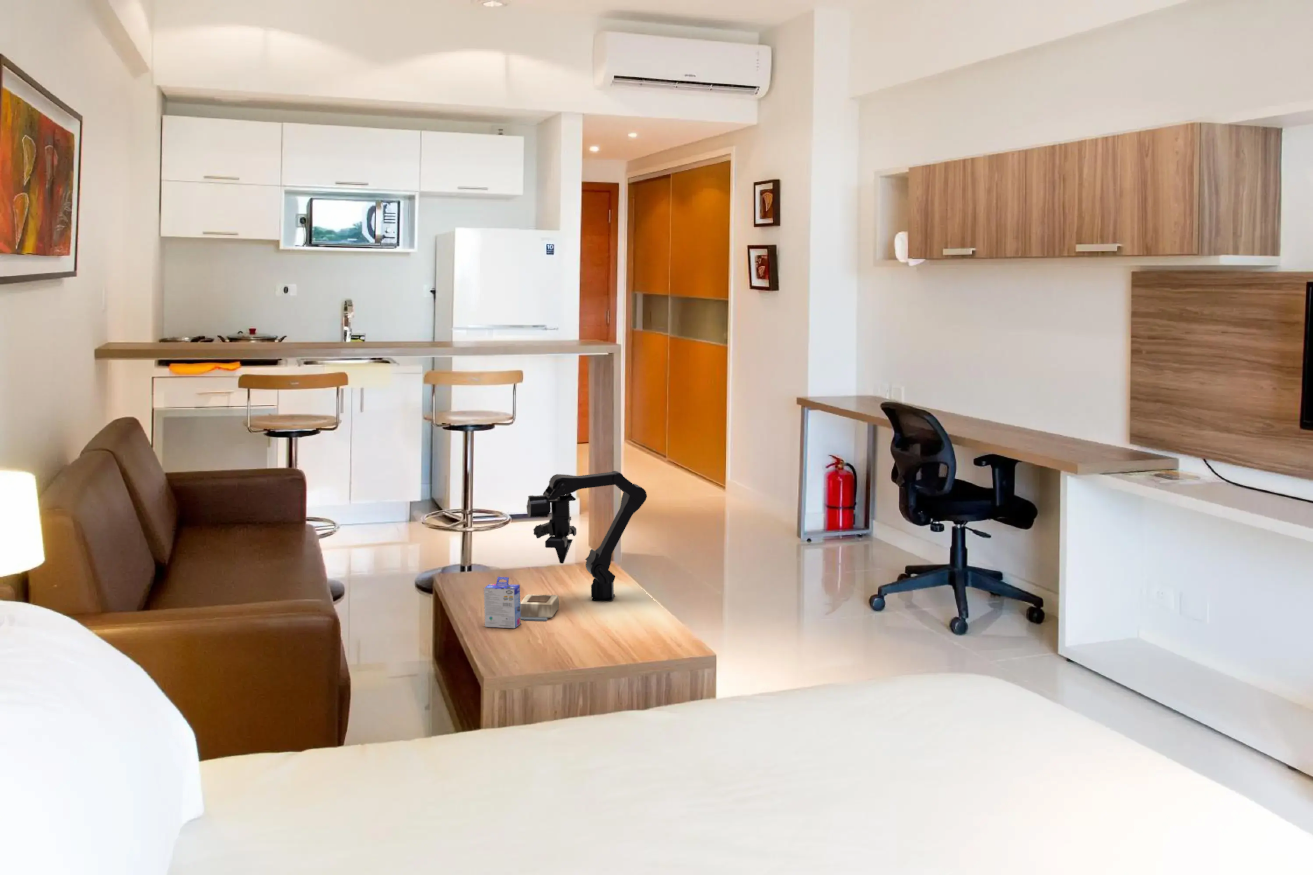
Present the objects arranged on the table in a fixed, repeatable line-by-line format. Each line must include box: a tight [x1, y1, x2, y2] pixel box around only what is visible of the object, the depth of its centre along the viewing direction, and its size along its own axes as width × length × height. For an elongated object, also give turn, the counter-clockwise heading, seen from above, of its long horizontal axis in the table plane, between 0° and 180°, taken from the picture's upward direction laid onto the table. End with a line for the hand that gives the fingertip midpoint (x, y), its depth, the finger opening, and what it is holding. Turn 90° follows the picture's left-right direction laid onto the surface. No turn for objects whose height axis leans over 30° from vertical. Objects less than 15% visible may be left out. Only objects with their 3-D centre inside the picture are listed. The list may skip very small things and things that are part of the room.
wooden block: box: [520, 594, 560, 618], centre depth 360 cm, size 4×10×10 cm
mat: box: [521, 617, 550, 622], centre depth 360 cm, size 11×14×1 cm
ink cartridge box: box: [483, 576, 522, 629], centre depth 348 cm, size 10×6×14 cm, turn 78°
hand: (561, 563), depth 369 cm, fingers closed
